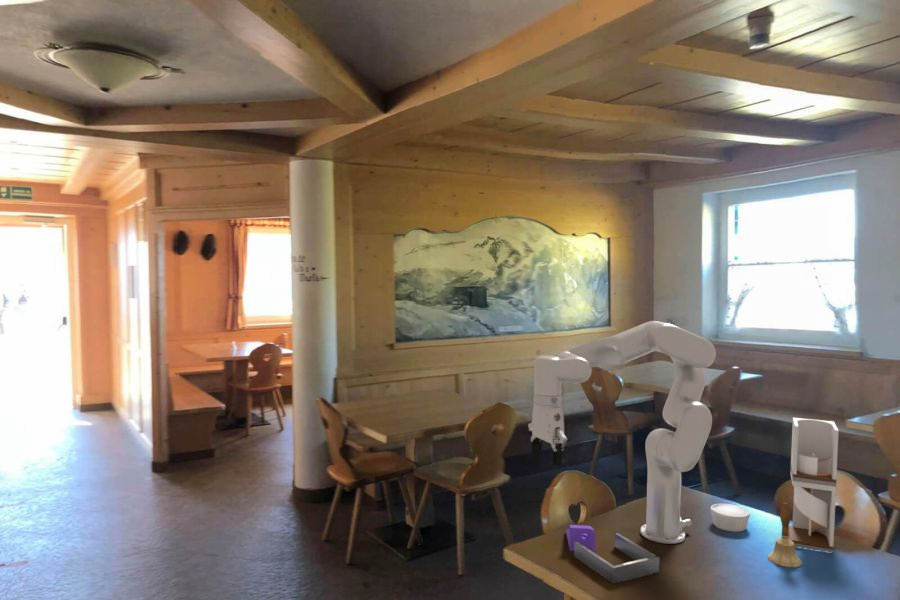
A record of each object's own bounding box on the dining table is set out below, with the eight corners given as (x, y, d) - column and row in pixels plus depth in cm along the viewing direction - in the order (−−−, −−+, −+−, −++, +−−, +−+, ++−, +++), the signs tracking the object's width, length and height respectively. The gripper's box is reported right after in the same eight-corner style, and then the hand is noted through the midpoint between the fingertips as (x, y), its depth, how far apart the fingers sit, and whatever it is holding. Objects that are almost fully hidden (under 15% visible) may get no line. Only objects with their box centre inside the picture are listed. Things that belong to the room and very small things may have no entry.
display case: (788, 531, 195) (792, 417, 193) (828, 538, 190) (833, 421, 188) (790, 546, 184) (795, 426, 182) (833, 554, 180) (838, 430, 178)
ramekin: (714, 516, 207) (715, 500, 206) (752, 524, 200) (753, 508, 200) (705, 527, 197) (706, 511, 197) (745, 537, 191) (745, 519, 191)
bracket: (594, 553, 180) (595, 529, 180) (569, 551, 181) (570, 527, 180) (589, 535, 192) (589, 512, 191) (566, 533, 192) (566, 511, 192)
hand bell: (769, 564, 173) (771, 506, 173) (766, 551, 181) (768, 496, 180) (803, 570, 170) (806, 511, 169) (799, 557, 178) (802, 500, 177)
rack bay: (617, 546, 183) (618, 532, 183) (658, 572, 168) (659, 557, 168) (574, 556, 177) (574, 541, 177) (612, 583, 162) (613, 567, 162)
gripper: (577, 405, 176) (576, 466, 177) (540, 393, 191) (539, 450, 192) (554, 407, 172) (553, 470, 173) (519, 395, 188) (518, 453, 189)
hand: (546, 459), depth 183 cm, fingers open, 9 cm apart
